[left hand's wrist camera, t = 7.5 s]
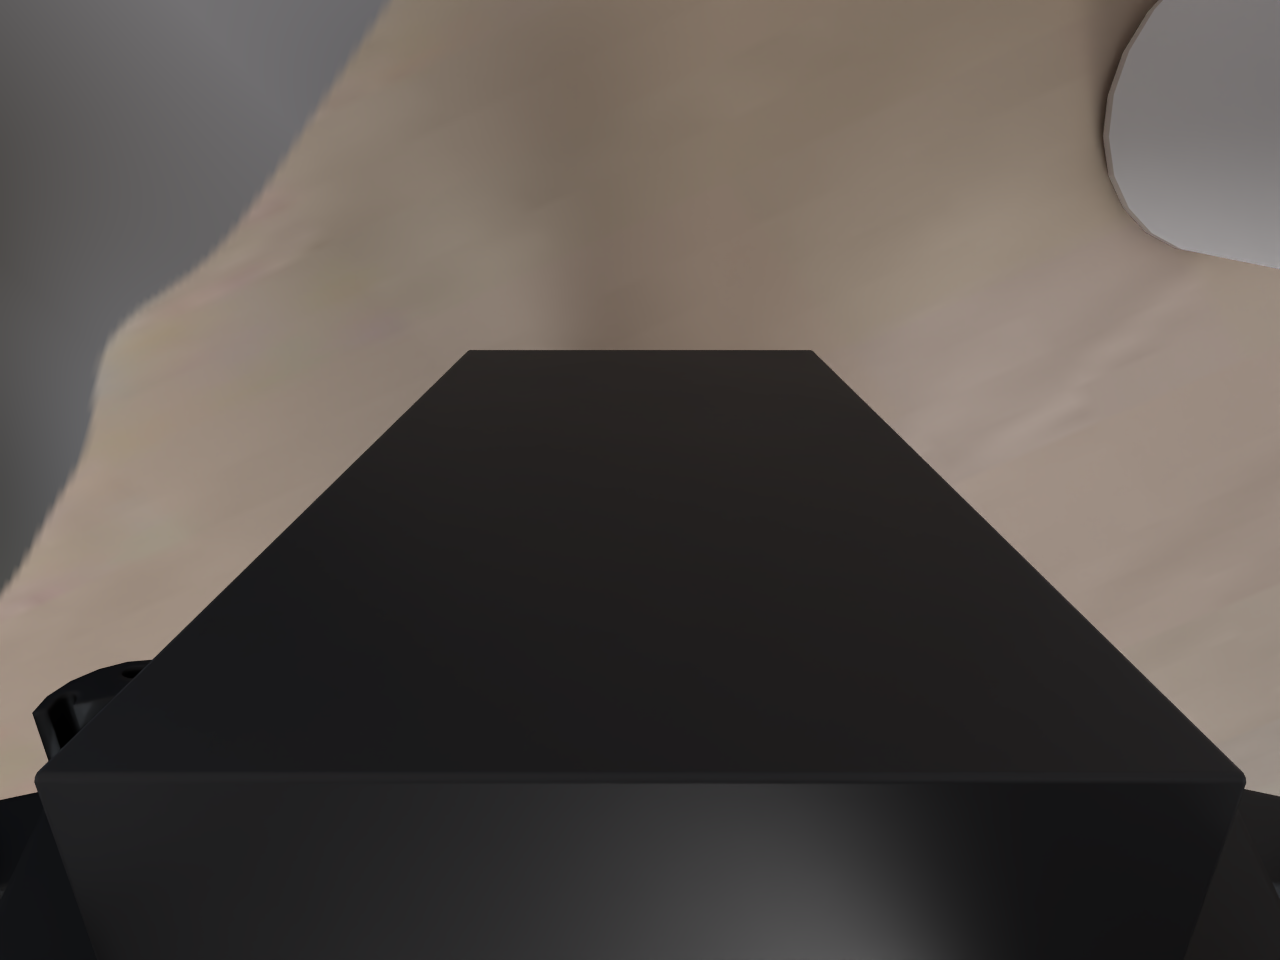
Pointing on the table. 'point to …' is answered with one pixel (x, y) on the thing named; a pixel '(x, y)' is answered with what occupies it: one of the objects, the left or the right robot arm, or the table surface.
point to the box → (640, 705)
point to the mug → (1201, 127)
